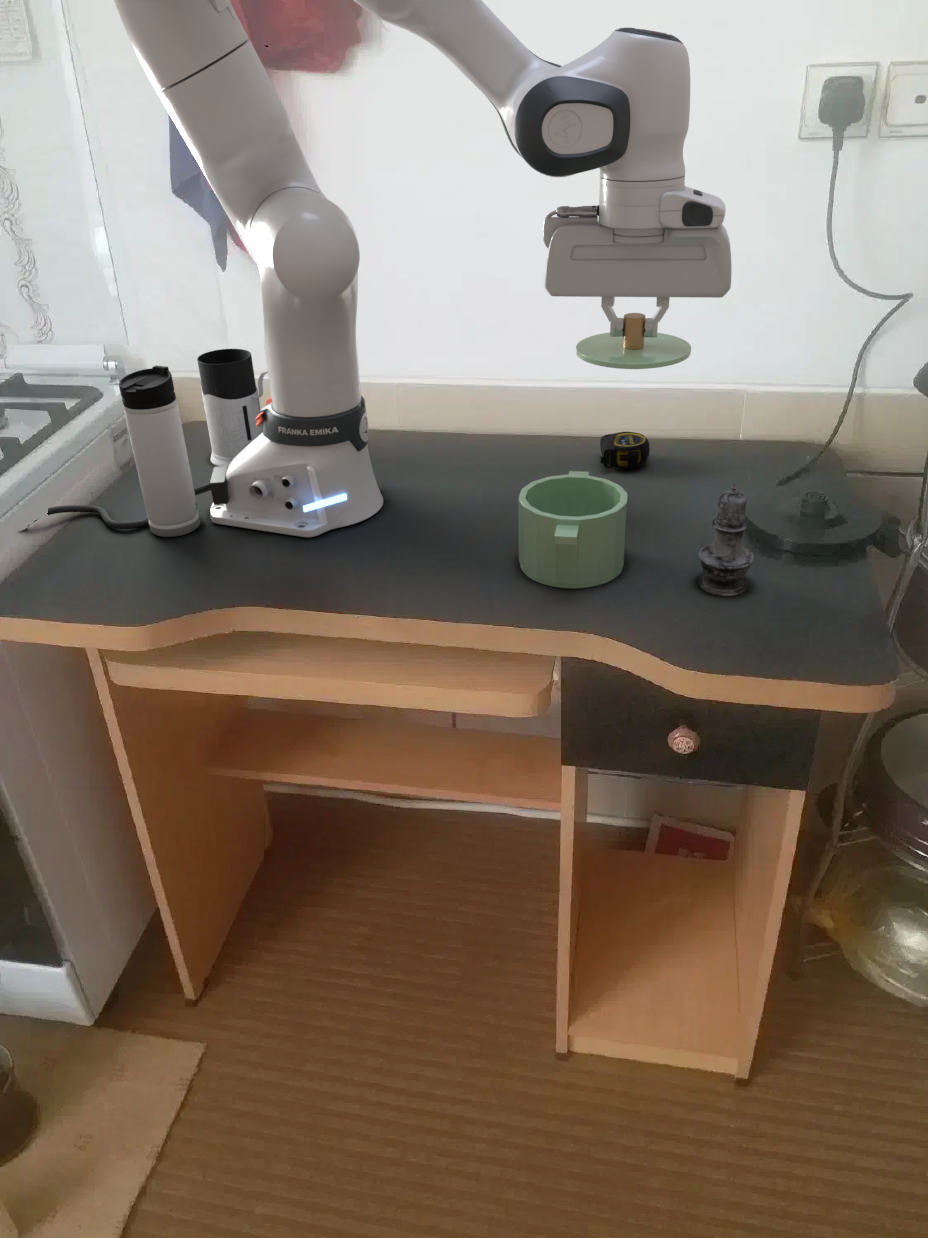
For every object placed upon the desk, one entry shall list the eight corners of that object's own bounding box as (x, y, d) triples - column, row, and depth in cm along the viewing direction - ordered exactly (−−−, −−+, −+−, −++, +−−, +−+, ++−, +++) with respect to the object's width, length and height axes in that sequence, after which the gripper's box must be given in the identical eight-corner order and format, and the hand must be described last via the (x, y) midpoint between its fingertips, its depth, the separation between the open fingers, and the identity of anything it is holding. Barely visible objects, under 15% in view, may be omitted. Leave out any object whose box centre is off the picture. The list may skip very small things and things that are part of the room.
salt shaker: (751, 599, 106) (765, 496, 100) (695, 595, 107) (705, 494, 101) (749, 573, 111) (762, 473, 105) (695, 569, 112) (705, 471, 106)
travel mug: (212, 519, 128) (184, 367, 118) (179, 541, 123) (147, 384, 113) (173, 512, 130) (142, 362, 120) (140, 533, 125) (105, 378, 115)
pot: (509, 597, 108) (508, 527, 104) (529, 527, 123) (529, 463, 118) (619, 604, 106) (623, 533, 102) (626, 532, 121) (630, 467, 116)
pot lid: (570, 373, 109) (571, 330, 106) (580, 339, 120) (581, 300, 117) (690, 375, 107) (694, 332, 104) (690, 341, 117) (693, 301, 115)
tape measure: (599, 454, 142) (600, 429, 140) (647, 454, 142) (649, 429, 140) (599, 473, 136) (600, 447, 135) (649, 473, 136) (651, 447, 134)
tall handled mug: (234, 442, 152) (218, 344, 144) (312, 454, 146) (300, 354, 138) (198, 462, 145) (179, 361, 137) (278, 476, 139) (263, 372, 132)
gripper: (539, 211, 104) (539, 342, 111) (739, 209, 100) (726, 345, 107) (546, 201, 109) (545, 327, 116) (736, 199, 106) (724, 329, 113)
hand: (633, 335), depth 112 cm, fingers closed on pot lid, 2 cm apart
